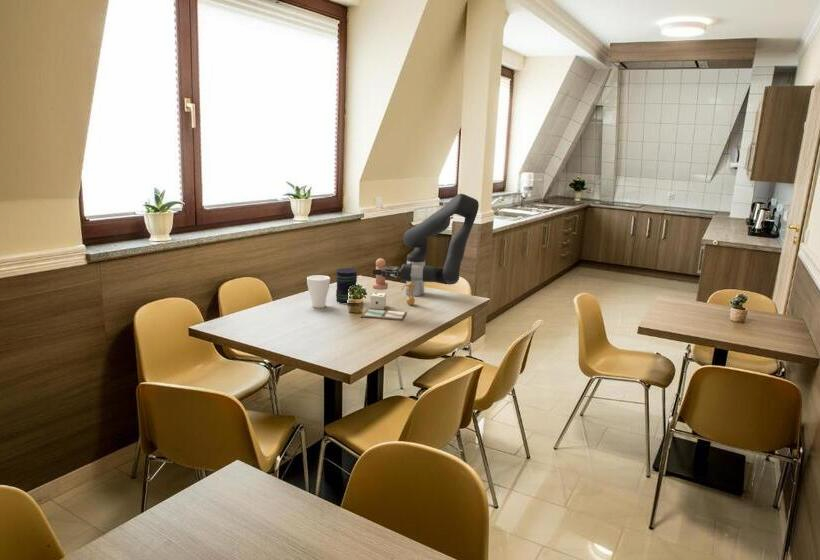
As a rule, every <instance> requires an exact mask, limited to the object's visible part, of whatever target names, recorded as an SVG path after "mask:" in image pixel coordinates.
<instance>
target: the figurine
mask: <svg viewBox="0 0 820 560" xmlns="http://www.w3.org/2000/svg"><path fill="white" fill-rule="evenodd" d="M406 286H408V287H409V288H408V292H410V291H411V292H412V296H411V295H409V294H410V293H408V295H407V296H408V297H407V298H406V303H407V305H408V306H413V305H414V304H415V303H416V298H414V296H413V289H412V287H413V286H415V287H417V286H416V285H414V284H412V282H409V283H408V284H404V285H403V286H402V289H401V291H403V290H404V288H405V287H406ZM417 289H418V287H417ZM418 290H419V289H418Z"/></svg>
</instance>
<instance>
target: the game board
mask: <svg viewBox="0 0 820 560" xmlns="http://www.w3.org/2000/svg"><path fill="white" fill-rule="evenodd" d="M405 314H407V311H403V310H402V311H399V310H385V309H369V308H366V310H365V311H364V312H362V314H361V315H360V318H362V319H363V318H365V319H377V320H378V319H379V320H389V319H391V320H393V321H403V320H404V318H405V316H406V315H405Z"/></svg>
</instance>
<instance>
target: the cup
mask: <svg viewBox="0 0 820 560" xmlns="http://www.w3.org/2000/svg"><path fill="white" fill-rule="evenodd" d="M330 282H331V277H329V276H328V275H322V274H321V275H319V274H317V275H316V274H315V275H309V276H307V277H306V284H307V289H308V292H309V296H310V300H311V301H310V302H311V306H312V308H314V307H315V309H322V308H325V307H326V301H327V296H328V293H329V289H330V285H331V283H330Z"/></svg>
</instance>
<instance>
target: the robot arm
mask: <svg viewBox="0 0 820 560" xmlns="http://www.w3.org/2000/svg"><path fill="white" fill-rule="evenodd" d="M479 205H480V204H479V201H478V200H477V199H476V198H474V197H472V196H470V195H467V194H464V193H458V194H456V195H455V196H454V197H452V198H451V199H450V200H449V201H448V202H447V203H446V204H445V205H444V206H443V207H441V208H440V209H438V210H437V211H435V212H434V213H432V214H431V215H430V216H428V217H427V218H425V219H424V220H422V222H420V223H419V224H417V225H416V226H413V227H411V228H409V229H408V230H406V231H405V233H404V235H403V237H402V238H403V244H404V245H405V246H406V247H408V248H414V250H412V251H411V252H410V253H408V254H407V255H406V263H403V264H402V265H401V267H400V266H399V265H397V266H391V265H389V266H387V265H386V266H385V270H377V269H376V267H375V268H374V269H373V270H372V275H373V276H374V275H375V276H376V275H381V276H382V277H385V278H388V279H389V278H390V279H395V278H398V277H400V278H401V281H402V282H405V283H406V284H408V283H409V282H412V284H414V285H416V286H417V287H418V289H419V290H418V289H417V287H415V286H413V287H412V289H413V297H418V296H424V295H425V283H436V284H437V283H438V284H441V285H455V284H457V283H458V282H459V280H460V269H461V266H462V265H461V264H462V261H463V259H464V254H465V251H466V246H467V241H468V238H469V235H470V233H471V230H472V228H473V226H474V224H475V220H476V218H477V214H478V212H479V207H480V206H479ZM454 215H457V216H460V217H463V218H464V221H463V224H462V227H461V228H460V229H459V230H458V231H457V232H456V233H455V234H454V235H453V237H452V238H451V240H450V241H449V244H448V249H447V254H446V259H445V262H444V265H443V268H442V267H441V268H440V267H436V266H434V265H426V257H427V253H428V243H429V242H428V241H429V239H428V238H430V237H433V236H436V235H439V234H441V233H442V232H444V231H446V230H447V229H448V228H449V227H450V224H451V217H452V216H454ZM406 284H405V285H406ZM408 288H409V287H408V286H405V294H406V295H407V296H409V295H410V297H412V292H411V291H410V292H408ZM408 293H410V294H409V295H408Z"/></svg>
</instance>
